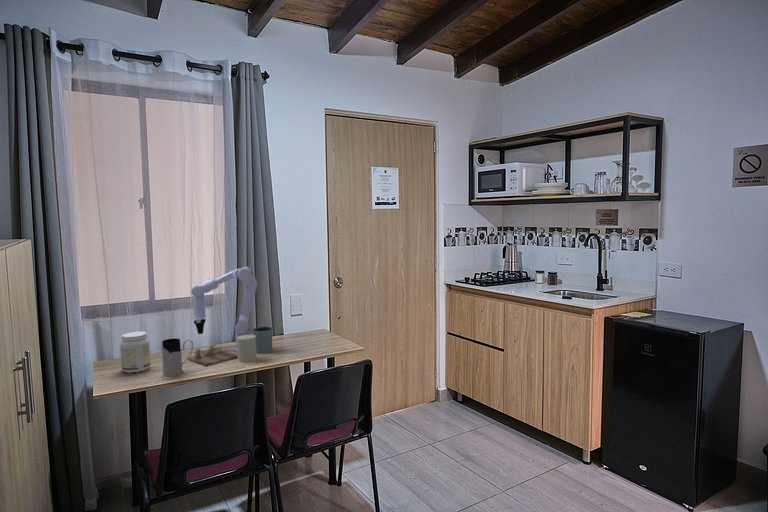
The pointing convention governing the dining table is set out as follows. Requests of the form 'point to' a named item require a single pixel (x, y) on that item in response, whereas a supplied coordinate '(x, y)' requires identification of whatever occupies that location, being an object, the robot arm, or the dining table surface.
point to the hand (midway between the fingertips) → (200, 333)
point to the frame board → (211, 357)
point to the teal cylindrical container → (263, 339)
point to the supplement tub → (135, 352)
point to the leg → (210, 350)
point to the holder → (172, 356)
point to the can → (246, 348)
